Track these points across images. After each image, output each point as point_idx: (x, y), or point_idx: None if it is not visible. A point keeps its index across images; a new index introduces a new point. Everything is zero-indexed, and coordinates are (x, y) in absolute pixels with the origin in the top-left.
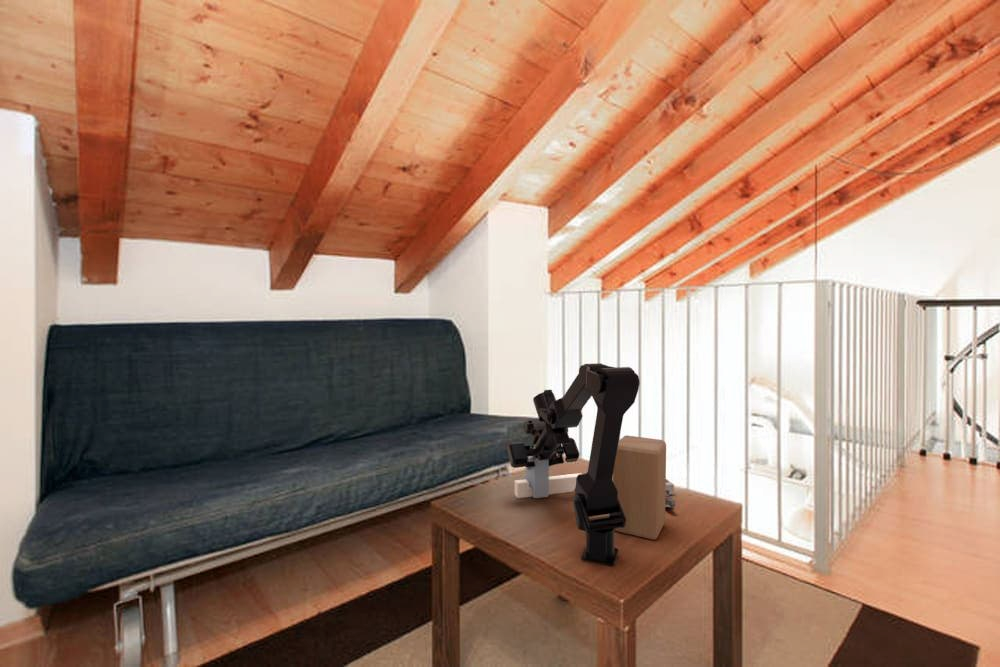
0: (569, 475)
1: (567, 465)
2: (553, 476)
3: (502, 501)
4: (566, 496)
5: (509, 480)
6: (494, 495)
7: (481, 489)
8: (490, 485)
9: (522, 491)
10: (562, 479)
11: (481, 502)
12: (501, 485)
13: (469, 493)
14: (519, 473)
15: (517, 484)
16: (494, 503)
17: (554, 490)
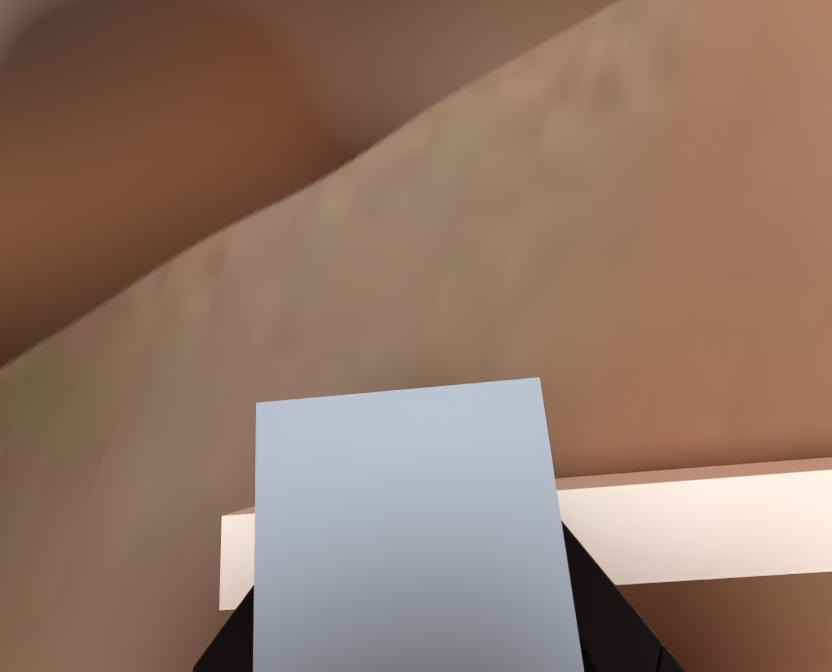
0: (816, 503)
1: (817, 19)
2: (631, 496)
3: (156, 598)
4: (665, 630)
5: (327, 224)
6: (143, 470)
7: (101, 344)
8: (179, 287)
9: None
10: (710, 575)
11: (18, 577)
12: (247, 301)
13: (7, 396)
14: (430, 116)
15: (225, 602)
16: (91, 621)
17: None
